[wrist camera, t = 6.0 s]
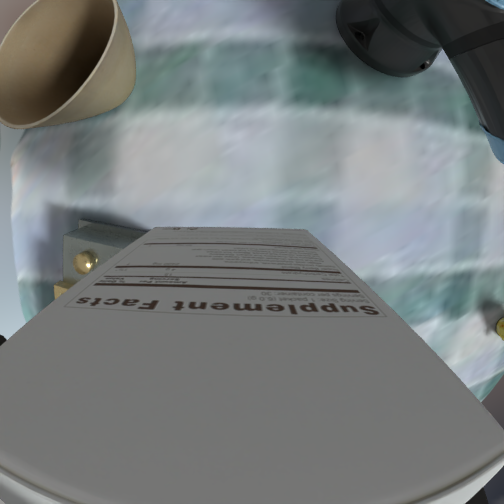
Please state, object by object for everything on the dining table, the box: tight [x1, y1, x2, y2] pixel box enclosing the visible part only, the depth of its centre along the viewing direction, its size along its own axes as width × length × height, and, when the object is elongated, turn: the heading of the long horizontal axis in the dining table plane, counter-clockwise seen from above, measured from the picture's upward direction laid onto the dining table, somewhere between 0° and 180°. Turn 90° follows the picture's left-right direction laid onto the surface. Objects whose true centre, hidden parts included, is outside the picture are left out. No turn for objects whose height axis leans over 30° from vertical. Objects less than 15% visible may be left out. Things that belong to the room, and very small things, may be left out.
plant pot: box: [0, 0, 136, 129], centre depth 22 cm, size 15×15×16 cm
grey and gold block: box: [54, 219, 148, 299], centre depth 34 cm, size 22×15×8 cm
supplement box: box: [0, 227, 504, 504], centre depth 10 cm, size 9×9×15 cm
